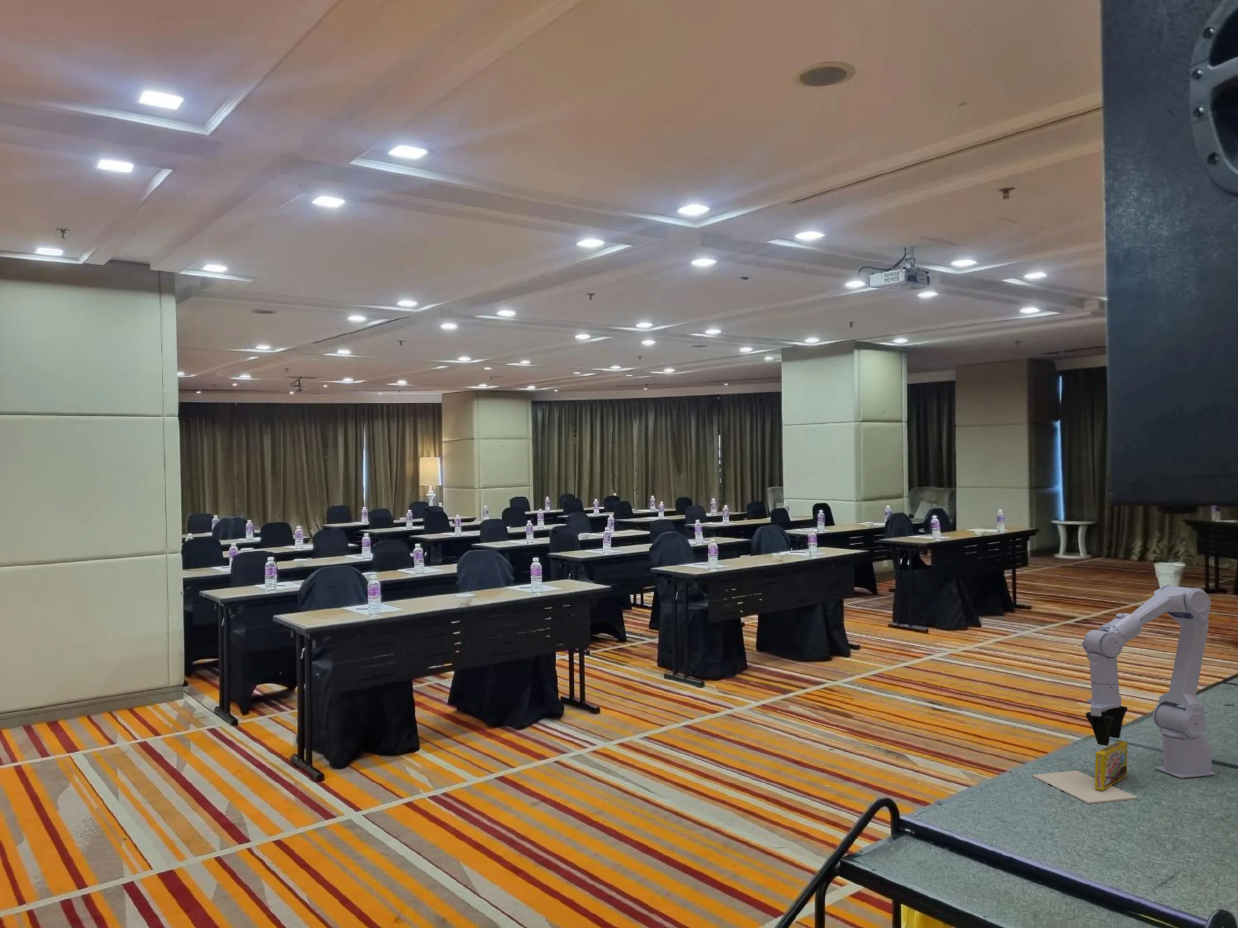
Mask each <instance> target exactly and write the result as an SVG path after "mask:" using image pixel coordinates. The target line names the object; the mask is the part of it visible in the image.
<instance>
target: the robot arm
mask: <svg viewBox="0 0 1238 928" xmlns="http://www.w3.org/2000/svg"><path fill="white" fill-rule="evenodd" d="M1211 605H1212V600H1211V599H1210V597H1209V595H1208V594H1207V593H1206V591H1205V590H1203V589H1202V588H1199V587H1194V588H1193V587H1183V586H1176V585H1175V586H1173V585H1169V584H1165V585H1162V586H1160V587H1159V589H1156V590H1154V592H1153V595H1152V596H1151V597H1150V598H1149V599H1148V600H1147V601H1145V602H1144V603H1143V604H1142V605H1140V606H1139V607H1138V608H1137V609H1135V610H1134V611H1133V612H1132V613H1126V612H1125V613H1123V612H1122V613H1121V612H1120V613H1117V614H1115V618H1113V619H1112V620H1110V621H1109V622H1108V623H1106V624H1101V627H1100V628H1099V629H1091V630H1089V631H1088V632H1087V633H1086V634H1085V635H1084V637H1083V641H1081V646H1082V648H1083V650H1084V651H1085V652H1086V656H1087V659H1088V661H1089V671H1090V673H1089V675H1090V690H1091V698H1088V699H1086V704H1091V706H1090V711H1088V712H1085V718H1086V719H1087V721H1088V722H1089V725H1090V726H1091V728H1092V730H1093V734H1094V738H1095V740H1096V744H1097V745H1100V746H1106V747H1108V746H1109V744H1110V738H1113V739H1120V737H1121V733H1122V728H1123V727H1122V726H1123V722H1124V719H1125V715H1126V713H1127V711H1128V706H1125V705H1122V696H1121V695H1120V683H1119V671H1118V657H1117V656H1119V655H1120V654H1121V653H1122V650H1123V648H1124V646H1125V645H1126V644H1127V643H1128V642H1130V641H1131V640H1134V638H1136V637H1137V636H1139V635H1140V634H1142V633H1141V632H1142V631H1143V630H1142V628H1143V626H1144V625H1146V624H1148V623H1149V622H1151V621H1153V620H1154V619H1157V618H1158V617H1160V616H1162V615H1164V614H1165V613H1166V614H1167V615H1168V616H1169V617H1171V618H1172V619H1173V620H1174V621H1176V623H1177V624H1178V626H1179V627H1180V629H1179V630H1180V631H1179V635H1178V636H1179V637H1178V640H1177V646H1176V650H1175V651H1176V652H1175V659H1174V662H1173V668H1172V673H1171V680H1170V683H1169V690H1167V692H1165V693H1163V694H1161V695H1159V698H1158V702H1157V704H1156V706H1155V708H1154V709H1153V712H1152V719H1153V720H1152V721H1153V722H1154V724H1155V726H1156V727H1157V728H1159V732H1160V733H1161V735H1162V736H1161V737H1162V752H1163V755H1162V756H1163V765H1158V766H1155V767H1154V769H1155V770H1158V771H1161V772H1162V773H1166V774H1168V775H1172V776H1174V777H1176V778H1179V779H1185V778H1187V779H1188V778H1196V777H1207V776H1214V775H1216V772H1214V771H1213V765H1212V762H1213V761H1212V750H1211V744H1210V742H1209V740H1208V738H1206V736H1205V735H1203V733H1204V731H1205V728H1206V719H1205V710H1206V709H1205V707H1204V705H1203V703H1201V701H1200V700H1199V699H1198V698H1197V693H1198V692H1197V691H1198V687H1199V681H1200V675H1201V671H1202V670H1201V669H1202V664H1203V659H1204V653H1205V648H1206V643H1207V637H1208V632H1209V625H1210V624H1209V623H1210V622H1209V616H1210V611H1211ZM1181 706H1183V707H1181Z"/></svg>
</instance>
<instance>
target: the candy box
mask: <svg viewBox="0 0 1238 928" xmlns="http://www.w3.org/2000/svg"><path fill="white" fill-rule="evenodd" d="M1094 761H1095V767H1094V769H1095V770H1094V778H1095V789H1098V790H1104V789H1106V788H1107V787H1109V786H1113V785H1114V784H1116V783H1117V782H1120V781H1121V780H1123V779H1124V778H1126V777H1127V776H1128V742H1127V741H1123V740H1119V741H1115V743H1112V744H1110V745H1108V746H1106V747H1105V748H1102V749H1100V750H1098V751H1095V760H1094Z"/></svg>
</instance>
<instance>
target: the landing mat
mask: <svg viewBox="0 0 1238 928" xmlns="http://www.w3.org/2000/svg"><path fill="white" fill-rule="evenodd" d="M1031 777H1032V778H1034V779H1036V780H1038V781H1039V782H1042V783H1044V784H1046V783H1047V784H1046V785H1048V784H1050V785H1052V786H1054V787H1056V788H1058V789H1059V790H1058V789H1057V790H1058V791H1060V790H1062V791H1064V792H1066V793H1068V794H1067V795H1069V794H1070V795H1069V796H1070V797H1073V796H1074V797H1073V798H1075V797H1076V798H1075V799H1077V800H1079V799H1080V800H1079V801H1081V802H1083V803H1085V804H1087V805H1093V804H1095V805H1096V804H1102V803H1103V804H1104V803H1112V802H1122V801H1133V800H1134V801H1135V800H1138V799H1139V798H1138V797H1137V796H1136V795H1134V794H1131V793H1129V792H1127V791H1125V790H1123V789H1119V788H1118V787H1115V786H1113V785H1111V786H1109V787H1107V788H1106V789H1104V790H1098V789H1095V777H1093V776H1090V775H1088V774H1086V773H1084V772H1081V771H1079V770H1072V771H1071V770H1069V771H1058V772H1049V773H1038V774H1032V775H1031ZM1050 785H1049V786H1050ZM1052 786H1051V787H1052ZM1054 787H1053V788H1054ZM1056 788H1055V789H1056ZM1062 791H1061V792H1062ZM1064 792H1063V793H1064ZM1066 793H1065V794H1066Z"/></svg>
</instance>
